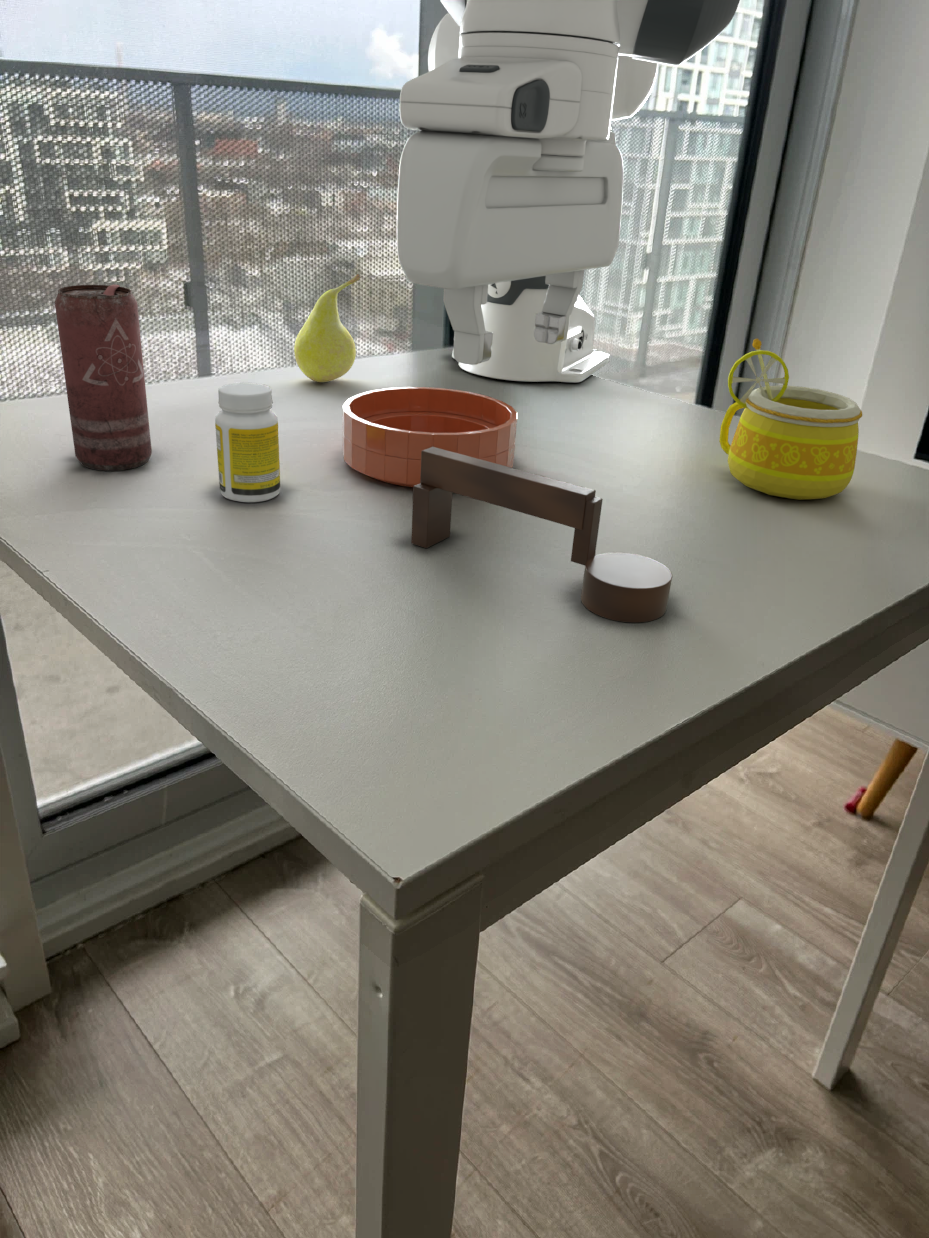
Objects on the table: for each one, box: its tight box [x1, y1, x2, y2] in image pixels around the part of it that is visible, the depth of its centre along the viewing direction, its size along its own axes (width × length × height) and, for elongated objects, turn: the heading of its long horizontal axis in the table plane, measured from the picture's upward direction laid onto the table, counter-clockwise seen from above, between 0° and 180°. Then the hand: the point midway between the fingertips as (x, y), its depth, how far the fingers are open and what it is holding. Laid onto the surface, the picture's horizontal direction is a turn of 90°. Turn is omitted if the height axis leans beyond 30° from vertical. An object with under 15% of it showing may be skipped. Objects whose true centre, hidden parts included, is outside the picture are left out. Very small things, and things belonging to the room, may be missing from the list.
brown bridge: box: [410, 447, 673, 624], centre depth 63 cm, size 19×6×7 cm, turn 56°
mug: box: [718, 338, 863, 501], centre depth 83 cm, size 13×11×12 cm
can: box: [54, 284, 153, 472], centre depth 77 cm, size 6×6×14 cm
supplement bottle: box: [214, 382, 281, 503], centre depth 73 cm, size 5×5×8 cm
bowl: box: [341, 386, 518, 488], centre depth 83 cm, size 15×15×5 cm
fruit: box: [293, 273, 362, 383], centre depth 106 cm, size 7×8×12 cm
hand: (513, 351), depth 59 cm, fingers open, 8 cm apart
